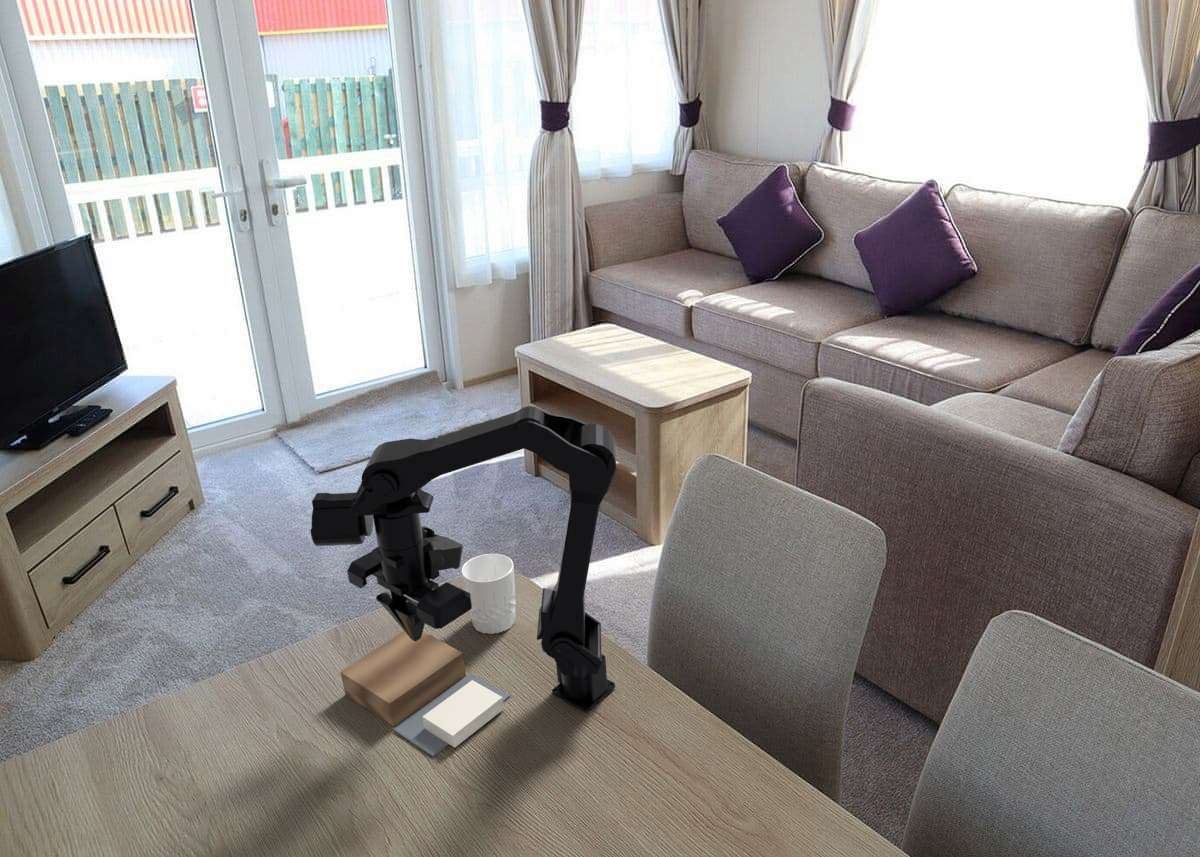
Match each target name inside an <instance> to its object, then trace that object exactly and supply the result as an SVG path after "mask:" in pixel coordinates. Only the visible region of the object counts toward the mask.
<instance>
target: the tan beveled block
mask: <svg viewBox="0 0 1200 857" xmlns="http://www.w3.org/2000/svg"><path fill="white" fill-rule="evenodd" d="M464 660H465V659H464V654H463V651H460V650H459V649H456V648H454V647H453V646H451V645H450V644H447V643H445V642H444V641H442V640H440V639H439V638H436V637H435V636H433V635H431V634H429V633H428V632H426V631H424V630H423V633H422V636H421V638H420V639H419V640H417V641H413V640H412V639H411V638H410V637H409V636H408V635H407V634H406V632H405V631H404V630H403V631H402V632H400V633H399V634H397V635H396V636H394V637H392V638H391V639H390V640H388V641H386V642H385V643H383V644H382V645H380V646H378V647H377V648H375V649H374V650H372V651H370V652H369V653H367V654H366V655H364V656H363V657H361V658H360V659H358V660H357V661H355V662H353V663H352V664H350V665H349V666H347V667H345V668H344V669H342V670H341V671H340V676H341V681H342V685H343V690H344V695H345V696H347V697H349V698H350V699H351V700H353V701H355V702H356V703H357V704H359V705H361V706H362V707H363V708H365V709H367V710H368V711H370V712H371V713H372V714H374V715H376V716H377V717H378V718H380V719H381V720H383V721H385V722H386V723H387V724H389V725H391V726H392V727H393V728H395V727H397V726H398V725H399V724H401V723H402V722H404V721H405V720H406V719H408V718H409V717H411V716H412V715H413V714H415V713H416V712H418V711H419V710H420V709H422V708H423V707H424V706H426V705H427V704H429V703H430V702H431V701H433V700H434V699H436V698H437V697H438V696H440V695H441V694H442V693H444V692H445V691H447V690H448V689H449V688H451V687H452V686H454V685H455V684H456V683H458V682H459V681H460V680H462V679H463V678H465V677H466V676H467V674H466V666H465V661H464Z"/></svg>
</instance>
